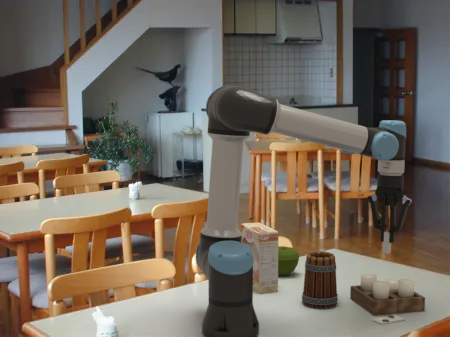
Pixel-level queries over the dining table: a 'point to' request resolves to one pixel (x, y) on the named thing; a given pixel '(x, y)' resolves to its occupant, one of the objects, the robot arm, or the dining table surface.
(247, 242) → the coffeecake box
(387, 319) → the card
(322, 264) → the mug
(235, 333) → the robot arm
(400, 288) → the button
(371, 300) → the wooden compartment tray
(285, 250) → the apple
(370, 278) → the button
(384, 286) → the button
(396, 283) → the button
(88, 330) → the dining table surface
